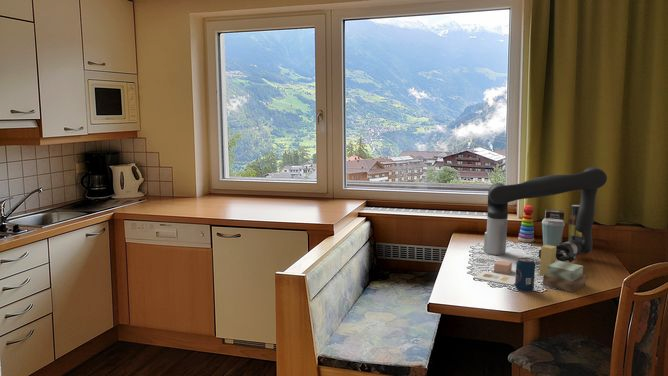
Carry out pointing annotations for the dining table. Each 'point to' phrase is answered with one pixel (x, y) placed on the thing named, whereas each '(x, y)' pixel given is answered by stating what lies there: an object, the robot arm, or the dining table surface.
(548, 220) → the disposable coffee cup
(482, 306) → the dining table surface
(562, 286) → the tower base
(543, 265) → the tall brick
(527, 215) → the stacking toy
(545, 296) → the dining table surface
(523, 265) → the soda can
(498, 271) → the brick
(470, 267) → the dining table surface
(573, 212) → the sauce bottle
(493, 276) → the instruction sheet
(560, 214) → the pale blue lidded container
